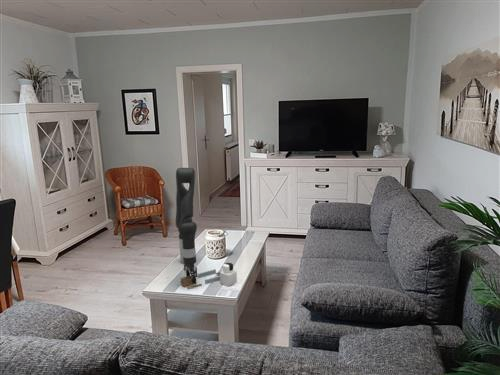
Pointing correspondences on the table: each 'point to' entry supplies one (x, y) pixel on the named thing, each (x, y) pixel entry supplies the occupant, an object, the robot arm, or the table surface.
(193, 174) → the robot arm
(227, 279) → the medicine bottle
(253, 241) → the table surface
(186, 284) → the block
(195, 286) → the strips
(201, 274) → the channel
